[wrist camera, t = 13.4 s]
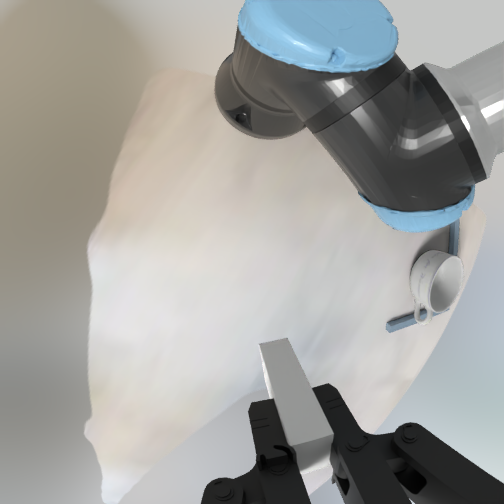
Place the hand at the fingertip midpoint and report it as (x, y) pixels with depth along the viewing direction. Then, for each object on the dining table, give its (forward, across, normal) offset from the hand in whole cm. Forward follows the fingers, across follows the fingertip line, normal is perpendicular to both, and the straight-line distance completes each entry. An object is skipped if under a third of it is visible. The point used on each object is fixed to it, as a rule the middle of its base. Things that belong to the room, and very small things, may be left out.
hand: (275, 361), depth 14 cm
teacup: (+27, +34, -12) cm, 45 cm away
